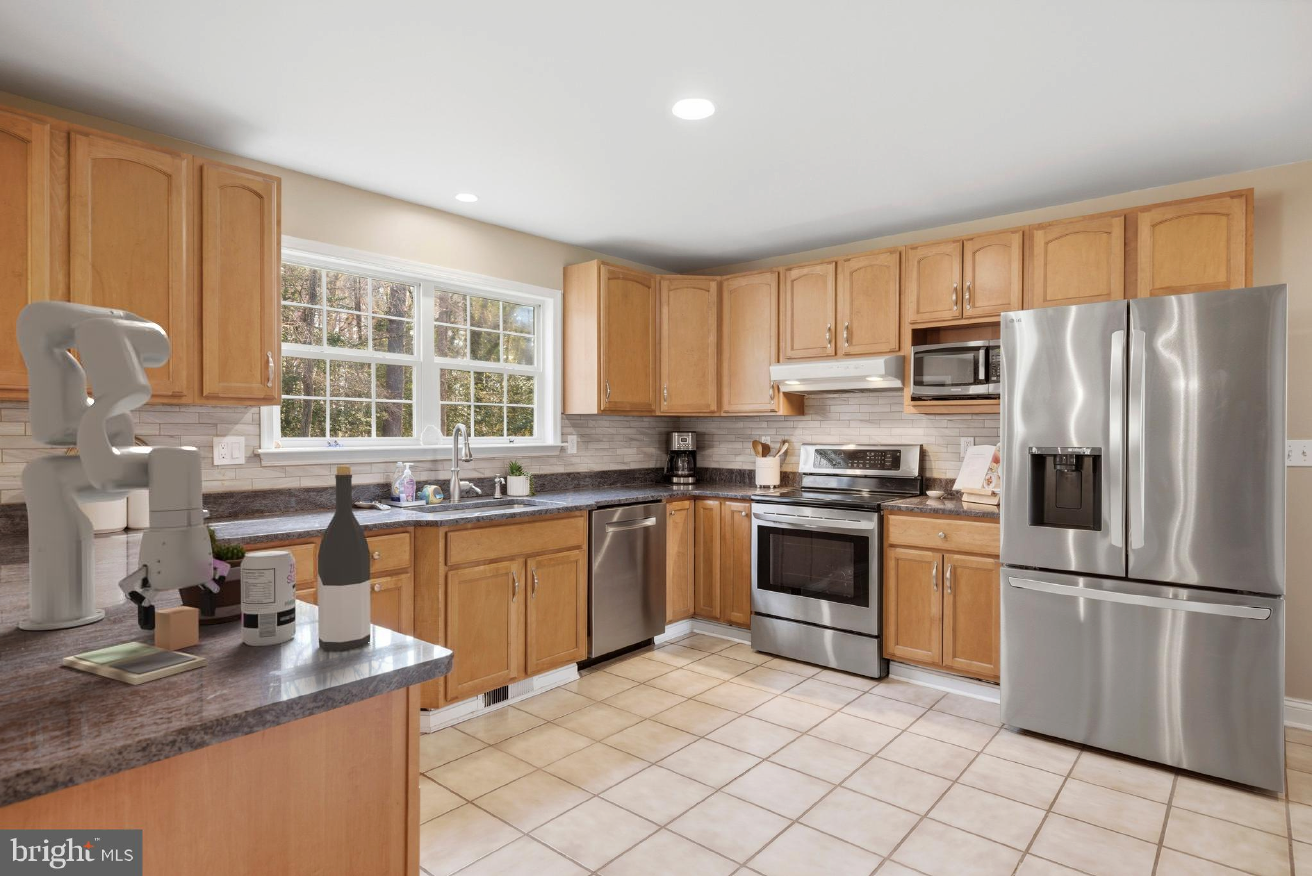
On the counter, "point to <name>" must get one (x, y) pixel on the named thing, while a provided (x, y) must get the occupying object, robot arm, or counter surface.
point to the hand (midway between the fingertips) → (178, 622)
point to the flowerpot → (229, 590)
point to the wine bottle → (343, 576)
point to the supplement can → (268, 597)
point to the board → (134, 662)
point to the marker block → (176, 628)
